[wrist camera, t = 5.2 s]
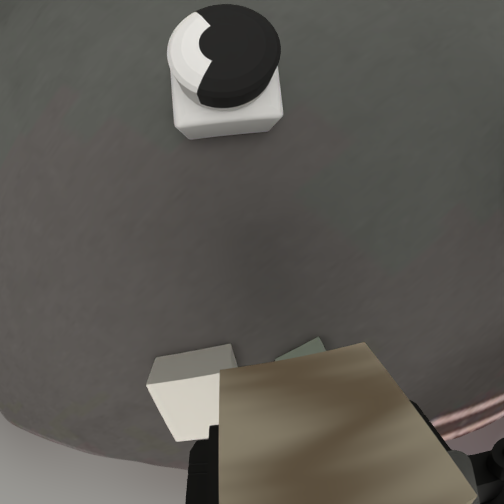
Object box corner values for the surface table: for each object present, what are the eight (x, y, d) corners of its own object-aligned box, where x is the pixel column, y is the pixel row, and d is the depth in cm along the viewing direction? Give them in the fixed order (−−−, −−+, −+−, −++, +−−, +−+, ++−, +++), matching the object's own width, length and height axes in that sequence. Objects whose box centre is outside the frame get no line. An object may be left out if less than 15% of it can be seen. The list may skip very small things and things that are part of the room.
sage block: (318, 336, 31) (335, 368, 25) (335, 368, 32) (353, 402, 26) (274, 358, 31) (284, 394, 25) (294, 389, 32) (306, 425, 26)
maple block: (364, 341, 10) (477, 495, 3) (358, 435, 11) (418, 562, 4) (219, 370, 10) (220, 572, 3) (243, 458, 11) (257, 603, 4)
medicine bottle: (262, 58, 24) (284, -12, 12) (270, 132, 26) (301, 100, 14) (181, 66, 24) (153, 0, 12) (187, 140, 25) (157, 114, 14)
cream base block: (230, 342, 30) (231, 370, 26) (248, 400, 32) (252, 430, 27) (155, 356, 30) (146, 384, 25) (181, 411, 32) (176, 441, 27)
